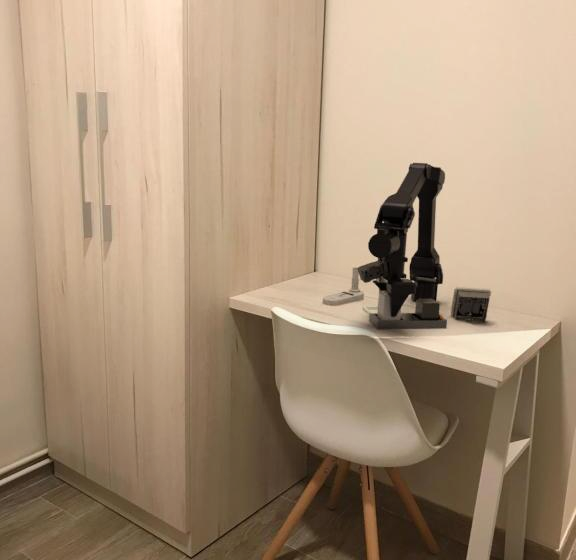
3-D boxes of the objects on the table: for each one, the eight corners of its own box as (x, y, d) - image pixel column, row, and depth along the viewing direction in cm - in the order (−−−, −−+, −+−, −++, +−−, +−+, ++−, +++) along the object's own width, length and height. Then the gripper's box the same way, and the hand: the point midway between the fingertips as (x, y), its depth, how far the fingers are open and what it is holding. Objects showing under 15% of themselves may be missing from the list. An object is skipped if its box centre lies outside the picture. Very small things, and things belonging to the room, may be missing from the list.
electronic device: (319, 272, 174) (354, 265, 184) (318, 306, 176) (353, 297, 186) (333, 276, 170) (368, 268, 180) (332, 310, 172) (367, 301, 182)
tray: (393, 310, 172) (393, 306, 172) (403, 318, 164) (403, 313, 164) (362, 310, 171) (362, 306, 170) (370, 318, 163) (370, 314, 163)
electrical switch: (485, 319, 167) (489, 286, 164) (489, 326, 162) (493, 293, 159) (449, 317, 168) (453, 284, 165) (452, 324, 163) (456, 291, 160)
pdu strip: (435, 322, 162) (437, 296, 161) (446, 330, 156) (448, 303, 154) (368, 322, 159) (370, 297, 158) (377, 331, 153) (378, 304, 151)
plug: (393, 322, 159) (396, 290, 157) (399, 327, 155) (402, 294, 153) (376, 322, 158) (379, 290, 157) (382, 327, 154) (384, 294, 152)
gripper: (352, 245, 160) (348, 303, 164) (373, 259, 142) (368, 324, 146) (393, 245, 162) (389, 303, 165) (419, 259, 144) (414, 323, 147)
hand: (389, 313), depth 156 cm, fingers open, 6 cm apart
